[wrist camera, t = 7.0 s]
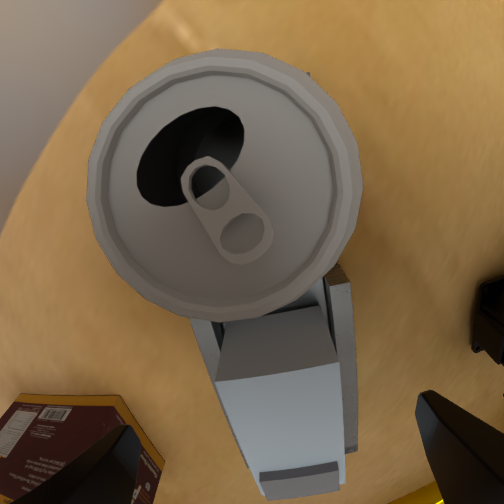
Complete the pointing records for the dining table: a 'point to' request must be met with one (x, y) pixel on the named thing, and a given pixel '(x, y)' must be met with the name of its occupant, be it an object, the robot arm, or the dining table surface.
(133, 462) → the robot arm
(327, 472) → the grey stepped machine block
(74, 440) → the supplement box
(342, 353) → the base
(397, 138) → the dining table surface
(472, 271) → the dining table surface
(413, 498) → the element tile
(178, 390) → the dining table surface
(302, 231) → the can
